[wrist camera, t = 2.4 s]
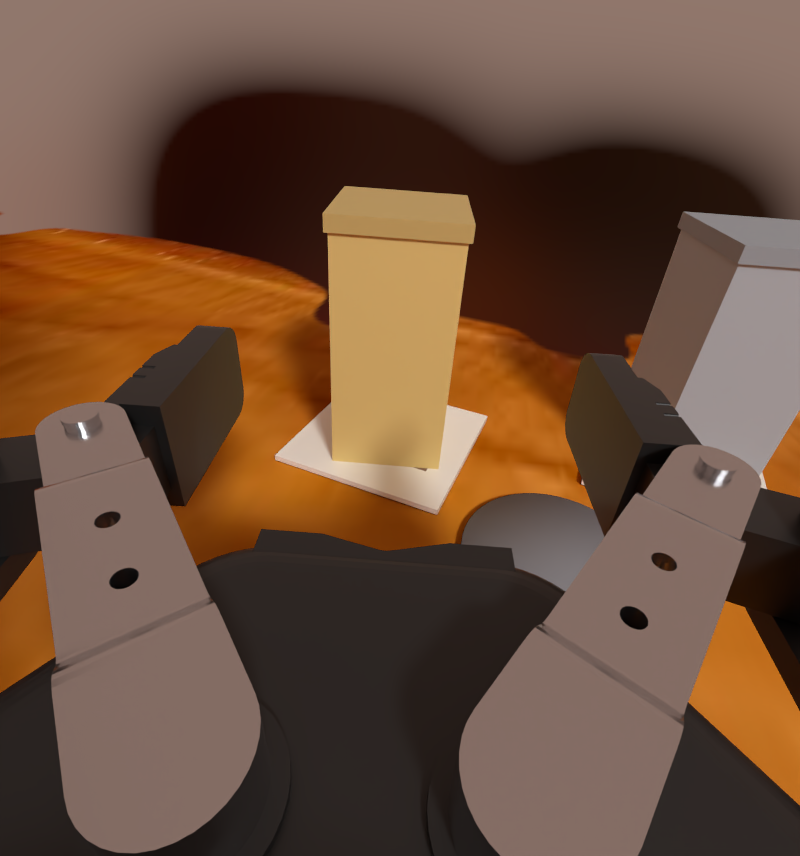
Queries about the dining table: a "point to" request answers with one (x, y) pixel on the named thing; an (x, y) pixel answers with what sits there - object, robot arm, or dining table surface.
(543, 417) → the dining table surface
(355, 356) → the ochre tea tin
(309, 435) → the cream tile
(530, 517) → the felt coaster
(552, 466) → the dining table surface
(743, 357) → the slate tea tin
